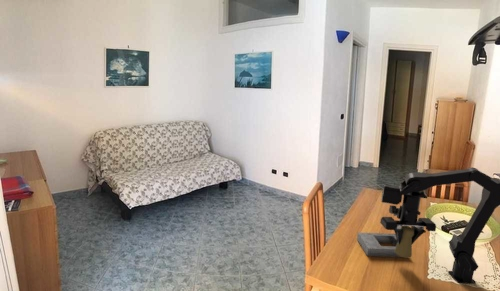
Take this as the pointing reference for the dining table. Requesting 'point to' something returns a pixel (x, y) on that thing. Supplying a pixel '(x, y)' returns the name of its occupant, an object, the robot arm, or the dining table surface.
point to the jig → (374, 248)
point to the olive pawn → (405, 243)
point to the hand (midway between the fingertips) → (404, 243)
